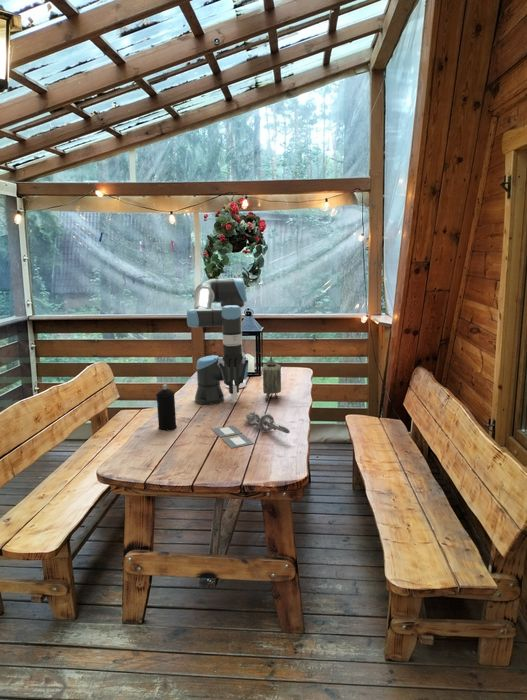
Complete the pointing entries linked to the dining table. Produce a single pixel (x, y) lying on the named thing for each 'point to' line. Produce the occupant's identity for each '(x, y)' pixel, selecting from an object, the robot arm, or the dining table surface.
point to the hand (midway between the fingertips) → (234, 400)
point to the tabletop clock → (271, 377)
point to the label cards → (232, 441)
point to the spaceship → (265, 422)
